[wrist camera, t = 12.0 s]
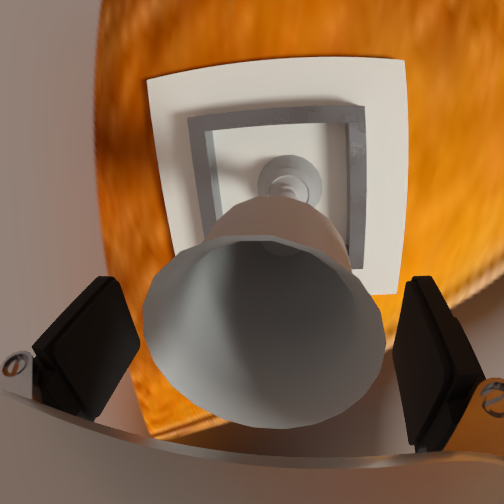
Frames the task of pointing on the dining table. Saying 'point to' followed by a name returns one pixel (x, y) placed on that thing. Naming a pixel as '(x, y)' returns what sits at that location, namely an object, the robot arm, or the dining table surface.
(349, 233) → the collar
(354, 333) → the chalice
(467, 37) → the dining table surface
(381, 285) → the board
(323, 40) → the dining table surface
